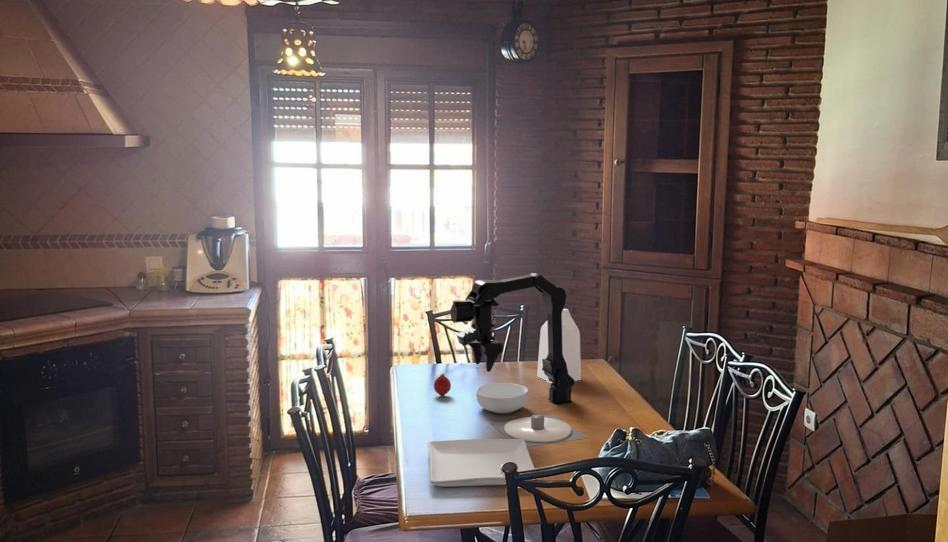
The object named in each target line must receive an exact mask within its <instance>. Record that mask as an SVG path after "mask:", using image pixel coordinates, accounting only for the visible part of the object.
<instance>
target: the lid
mask: <svg viewBox="0 0 948 542" xmlns="http://www.w3.org/2000/svg"><path fill="white" fill-rule="evenodd" d="M544 416H545V415H542V414H532V415H531V416H526V417H519V418H516V419H512V421H511V420H509V421H510V422H508V423H507V424H506V425H505V427H504V430H505V433H506V434H507V435H509V436H510V437H512V438H515V439H523V440H524V441H527V442H554V441H559V440H562V439H565V438H567V437H568V436H569V435H570V434H571V427H572V426H571V425H570V424H569V423H567V422H565V421H563V420H562V421H560V420H561V419H560V420H557V419H552V418H546V417H544ZM570 426H571V427H570Z"/></svg>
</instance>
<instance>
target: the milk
mask: <svg viewBox="0 0 948 542" xmlns="http://www.w3.org/2000/svg"><path fill="white" fill-rule="evenodd" d="M562 351H563V357H564V359H565V362H566V364H567V369H568V374H569V375H570V376H571V377H572V378H573V379H574V380H575V381H577V380H581V381H582V372H581V370H582V366H581V365H582V363H581V334H580V330H579V327H578V326H577V324H576V322H575V321H574V319H573V317H572V315H571V313H570V310H569V309H568V308H564V309H563V311H562ZM547 356H548V321H547V320H546V321H545V322H544V323H543V324H542V325H541V326H540V333H539V346H538V361H537V372H536V373H537V374H536V377H537V376H538V377H537V378H539V377H540V378H542V379H544V380H546V381H547V382H546V381H545V382H546V383H548V382H549V383H552V382H551V381H549V379H548V377H547V376H546V375H545V374H544V371H543V370H542V368H543V362H542V359H546V358H547ZM540 378H539V379H540ZM542 379H541V380H542ZM544 380H543V381H544ZM549 383H548V384H549Z"/></svg>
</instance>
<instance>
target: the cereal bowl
mask: <svg viewBox="0 0 948 542" xmlns="http://www.w3.org/2000/svg"><path fill="white" fill-rule="evenodd" d="M475 394H476V401H477V403H478V404H479V405H480V407H482V408H483V409H484V410H486V411H489V412H492V413H496V414H511V413H513V412H515V411H517V410H520V409H521V408H522V407H524V406H525V405H526V404H527V401H528V397H529V389H528V388H527V386H524V385H522V384H519V383H512V382H492V383H486V384H483V385H480V386H478V387H477V389H476V392H475Z"/></svg>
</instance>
